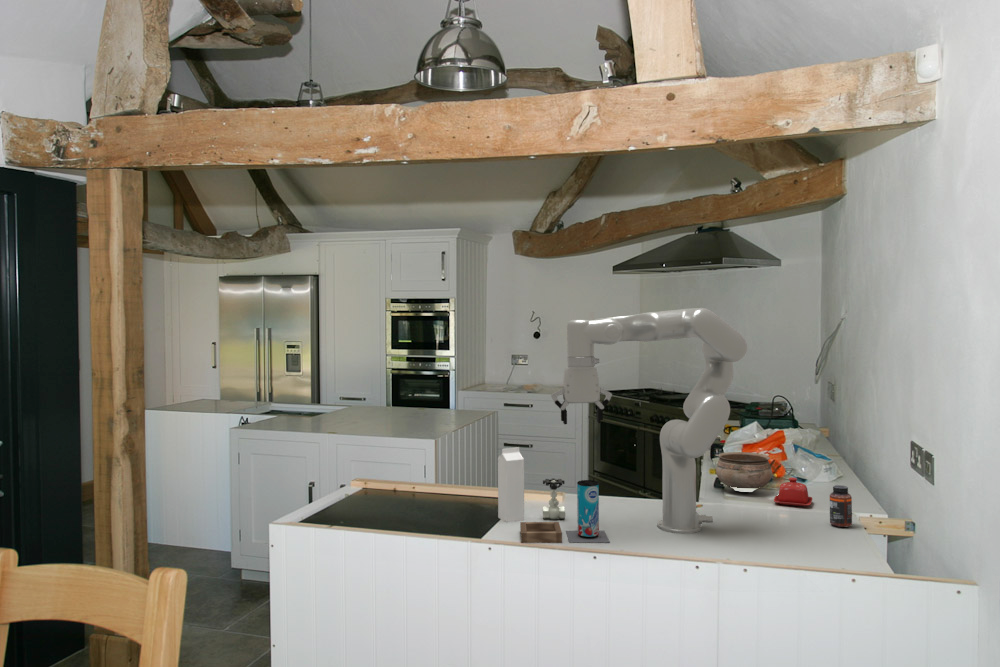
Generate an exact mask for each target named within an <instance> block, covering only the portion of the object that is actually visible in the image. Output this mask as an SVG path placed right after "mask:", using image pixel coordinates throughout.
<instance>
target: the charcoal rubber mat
mask: <svg viewBox="0 0 1000 667" xmlns="http://www.w3.org/2000/svg"><path fill="white" fill-rule="evenodd" d="M565 534H566V536H567V539H568V543H569V544H611V541H610V540H609V536H608V535H607V533H606V531H605V530H600V529H599V535H598V537H596V538H590V539H588V538H582V537H579V536H578V530H565Z"/></svg>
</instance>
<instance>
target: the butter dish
mask: <svg viewBox="0 0 1000 667" xmlns="http://www.w3.org/2000/svg"><path fill="white" fill-rule="evenodd" d="M797 481H798V478H797V477H789V478H788V481H787V482H783V483H781V485H780V486H779V490H778V494H779V495H778V496H776V495H775V497H774V498H773V502H774V503H777V504H780V505H782V506H783V505H785V506H786V505H787V506H796V507H806V506H810V505H811V504H812V502H813V497H812V496H809V492H808V487H807V485H806V484H804V483H801V482H797Z"/></svg>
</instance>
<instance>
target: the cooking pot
mask: <svg viewBox="0 0 1000 667" xmlns="http://www.w3.org/2000/svg"><path fill="white" fill-rule="evenodd" d="M717 456H718V458H719V459H718V461H717V463H716V467H715V474H716V476H717V478H718V480H719V481H720V482H721V483H722V484H724V485H725V486H726V485H727V486H726V487H728V486H731V487H737V488H759V487H762V488H763V487H765V486H767V485H768V484H769V483H770V481H771V479H772V477H773V470H772V466H771V464H770V462H769V460H770V458H771V457H770V456H768V455H767V454H762V453H755V452H747V451H745V452H742V451H741V452H740V451H729V452H728V451H727V452H721V453H719V454H717Z"/></svg>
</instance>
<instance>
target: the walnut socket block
mask: <svg viewBox="0 0 1000 667" xmlns="http://www.w3.org/2000/svg"><path fill="white" fill-rule="evenodd" d="M520 541H521V544H531V543H532V544H563V532H562V528H561V525H560V522H559V521H521V522H520Z"/></svg>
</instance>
